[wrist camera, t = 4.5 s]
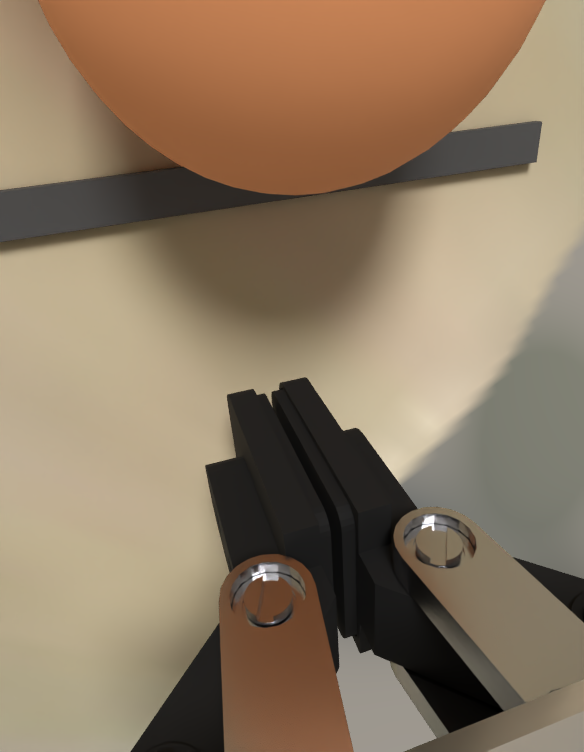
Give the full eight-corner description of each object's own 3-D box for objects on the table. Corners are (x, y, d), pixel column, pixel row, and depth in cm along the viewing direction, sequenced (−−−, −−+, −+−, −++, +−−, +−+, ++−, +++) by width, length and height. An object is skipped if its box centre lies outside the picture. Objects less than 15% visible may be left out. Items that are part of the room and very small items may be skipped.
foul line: (530, 160, 12) (536, 162, 12) (-200, 269, 9) (-206, 272, 9) (535, 121, 11) (541, 121, 11) (-228, 219, 8) (-236, 222, 8)
